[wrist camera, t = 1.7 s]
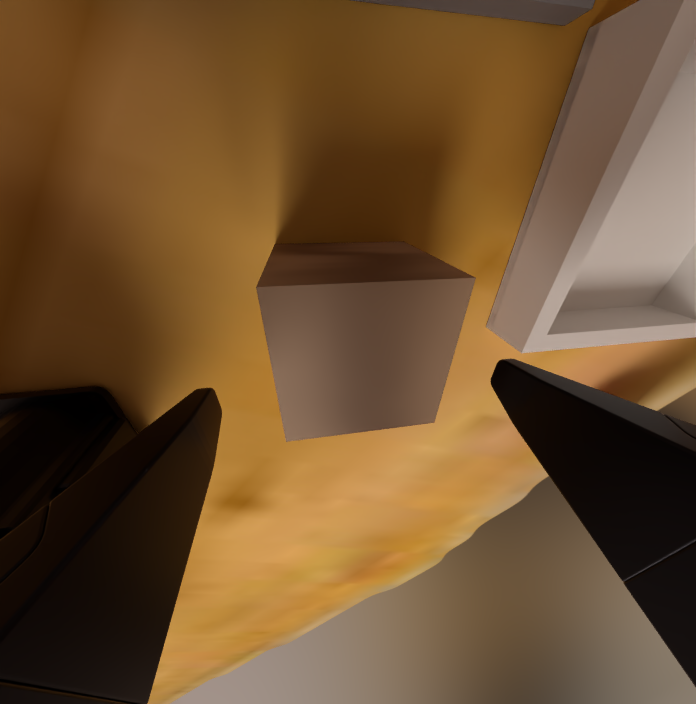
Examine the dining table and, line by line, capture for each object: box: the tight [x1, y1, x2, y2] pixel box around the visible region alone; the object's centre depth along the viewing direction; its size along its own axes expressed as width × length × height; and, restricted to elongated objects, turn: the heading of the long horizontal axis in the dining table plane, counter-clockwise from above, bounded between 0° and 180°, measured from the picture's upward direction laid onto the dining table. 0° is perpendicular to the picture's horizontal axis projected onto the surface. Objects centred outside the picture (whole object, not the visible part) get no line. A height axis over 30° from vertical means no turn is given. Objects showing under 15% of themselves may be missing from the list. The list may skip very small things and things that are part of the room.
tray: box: [486, 0, 696, 353], centre depth 12 cm, size 12×12×3 cm
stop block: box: [256, 242, 476, 442], centre depth 11 cm, size 6×6×6 cm
